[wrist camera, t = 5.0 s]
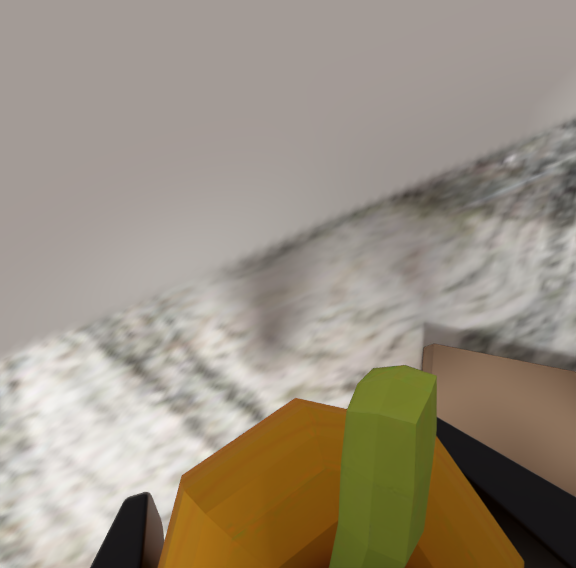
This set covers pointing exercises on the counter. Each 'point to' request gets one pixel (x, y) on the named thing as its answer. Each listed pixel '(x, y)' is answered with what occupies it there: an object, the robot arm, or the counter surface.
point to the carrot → (338, 490)
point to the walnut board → (510, 408)
